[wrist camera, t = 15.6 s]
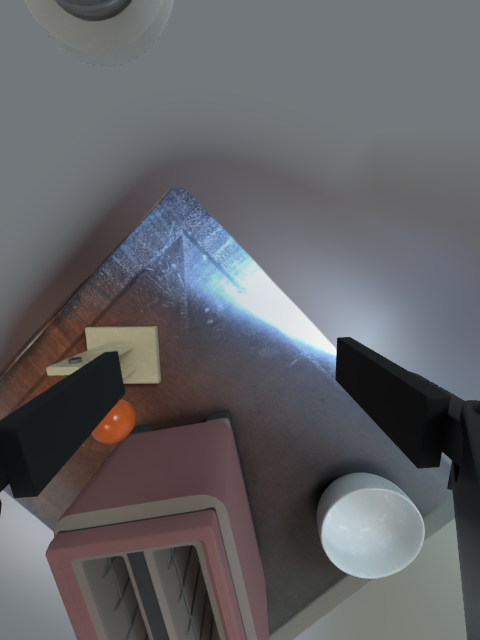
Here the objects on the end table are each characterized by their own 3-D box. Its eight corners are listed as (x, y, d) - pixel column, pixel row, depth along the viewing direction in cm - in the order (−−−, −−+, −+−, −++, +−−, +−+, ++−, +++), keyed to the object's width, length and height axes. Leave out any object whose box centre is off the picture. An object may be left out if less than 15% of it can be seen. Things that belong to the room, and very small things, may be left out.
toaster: (174, 579, 48) (123, 795, 28) (129, 420, 43) (26, 541, 23) (267, 566, 47) (284, 779, 27) (231, 402, 42) (220, 511, 22)
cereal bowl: (415, 498, 44) (448, 538, 37) (349, 549, 46) (368, 596, 39) (356, 440, 43) (378, 470, 36) (290, 495, 45) (299, 534, 38)
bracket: (157, 325, 40) (112, 345, 27) (161, 380, 42) (120, 426, 28) (89, 326, 41) (11, 347, 27) (95, 381, 42) (23, 426, 28)
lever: (141, 400, 20) (94, 417, 18) (144, 438, 21) (99, 460, 18) (89, 361, 31) (56, 368, 29) (92, 387, 32) (59, 396, 29)
